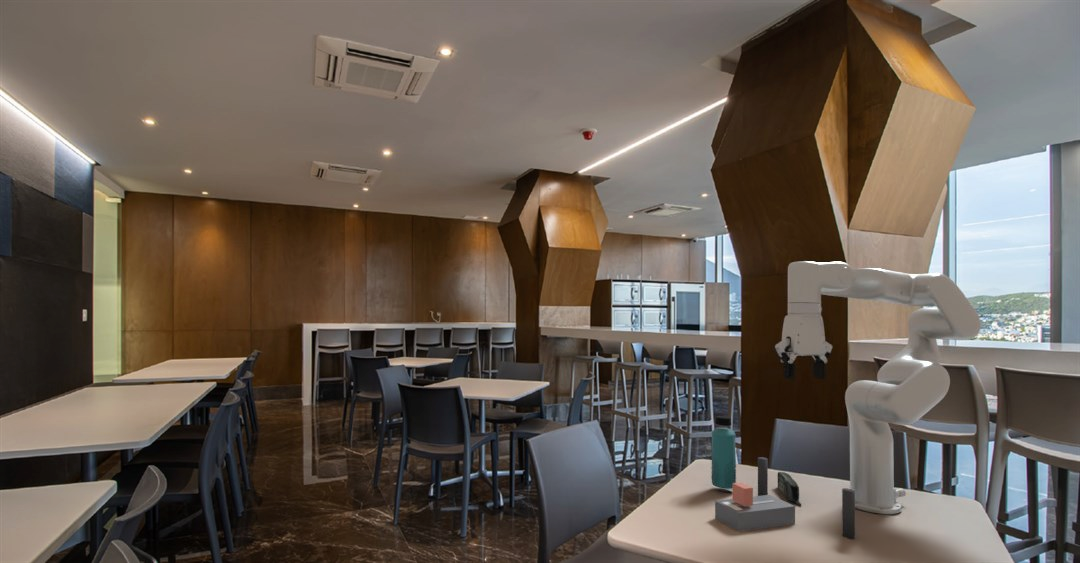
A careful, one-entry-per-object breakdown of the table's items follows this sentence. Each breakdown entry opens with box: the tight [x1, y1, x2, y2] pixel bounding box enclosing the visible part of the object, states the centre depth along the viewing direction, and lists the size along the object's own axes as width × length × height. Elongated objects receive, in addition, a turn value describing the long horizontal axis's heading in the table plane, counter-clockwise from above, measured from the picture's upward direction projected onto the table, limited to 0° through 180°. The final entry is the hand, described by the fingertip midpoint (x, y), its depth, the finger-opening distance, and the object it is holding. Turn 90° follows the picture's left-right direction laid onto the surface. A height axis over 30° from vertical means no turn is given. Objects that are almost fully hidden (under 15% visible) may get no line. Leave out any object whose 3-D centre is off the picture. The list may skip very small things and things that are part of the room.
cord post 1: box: [757, 456, 769, 496], centre depth 142 cm, size 2×2×10 cm
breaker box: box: [714, 494, 796, 532], centre depth 125 cm, size 16×8×4 cm, turn 109°
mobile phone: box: [777, 471, 802, 507], centre depth 143 cm, size 5×3×15 cm
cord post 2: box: [841, 487, 856, 540], centre depth 117 cm, size 2×2×10 cm
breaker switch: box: [731, 481, 754, 507], centre depth 124 cm, size 2×4×4 cm, turn 19°
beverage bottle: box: [710, 415, 737, 490], centre depth 146 cm, size 6×7×20 cm
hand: (804, 378), depth 134 cm, fingers open, 9 cm apart
